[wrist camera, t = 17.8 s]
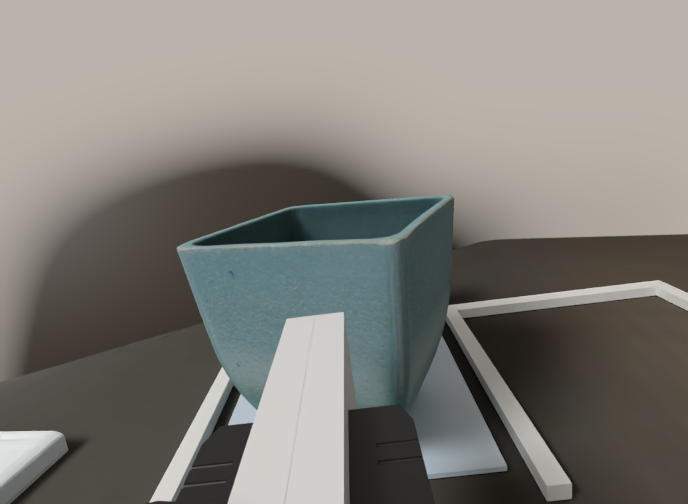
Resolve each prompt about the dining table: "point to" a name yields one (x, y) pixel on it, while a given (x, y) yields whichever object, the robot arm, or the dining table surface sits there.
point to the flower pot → (330, 289)
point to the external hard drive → (26, 459)
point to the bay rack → (445, 401)
